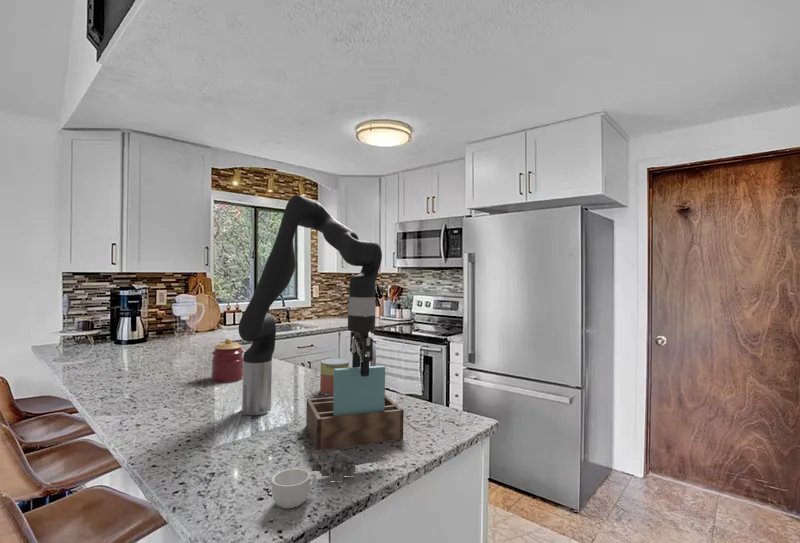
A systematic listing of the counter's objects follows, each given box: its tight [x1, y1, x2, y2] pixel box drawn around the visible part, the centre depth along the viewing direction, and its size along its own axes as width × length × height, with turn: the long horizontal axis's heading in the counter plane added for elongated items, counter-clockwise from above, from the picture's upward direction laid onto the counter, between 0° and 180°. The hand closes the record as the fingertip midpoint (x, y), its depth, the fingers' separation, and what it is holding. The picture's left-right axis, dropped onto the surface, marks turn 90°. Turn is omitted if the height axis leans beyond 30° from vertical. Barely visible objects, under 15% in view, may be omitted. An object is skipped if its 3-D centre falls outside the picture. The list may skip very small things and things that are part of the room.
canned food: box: [319, 357, 350, 396], centre depth 170 cm, size 11×11×12 cm
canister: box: [210, 338, 245, 383], centre depth 185 cm, size 13×13×18 cm
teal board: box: [332, 365, 386, 416], centre depth 117 cm, size 14×2×20 cm, turn 111°
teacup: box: [271, 467, 317, 509], centre depth 89 cm, size 10×8×5 cm
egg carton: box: [311, 449, 359, 483], centre depth 102 cm, size 11×8×4 cm
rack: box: [305, 394, 405, 451], centre depth 123 cm, size 24×18×10 cm
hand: (360, 372), depth 117 cm, fingers open, 8 cm apart
